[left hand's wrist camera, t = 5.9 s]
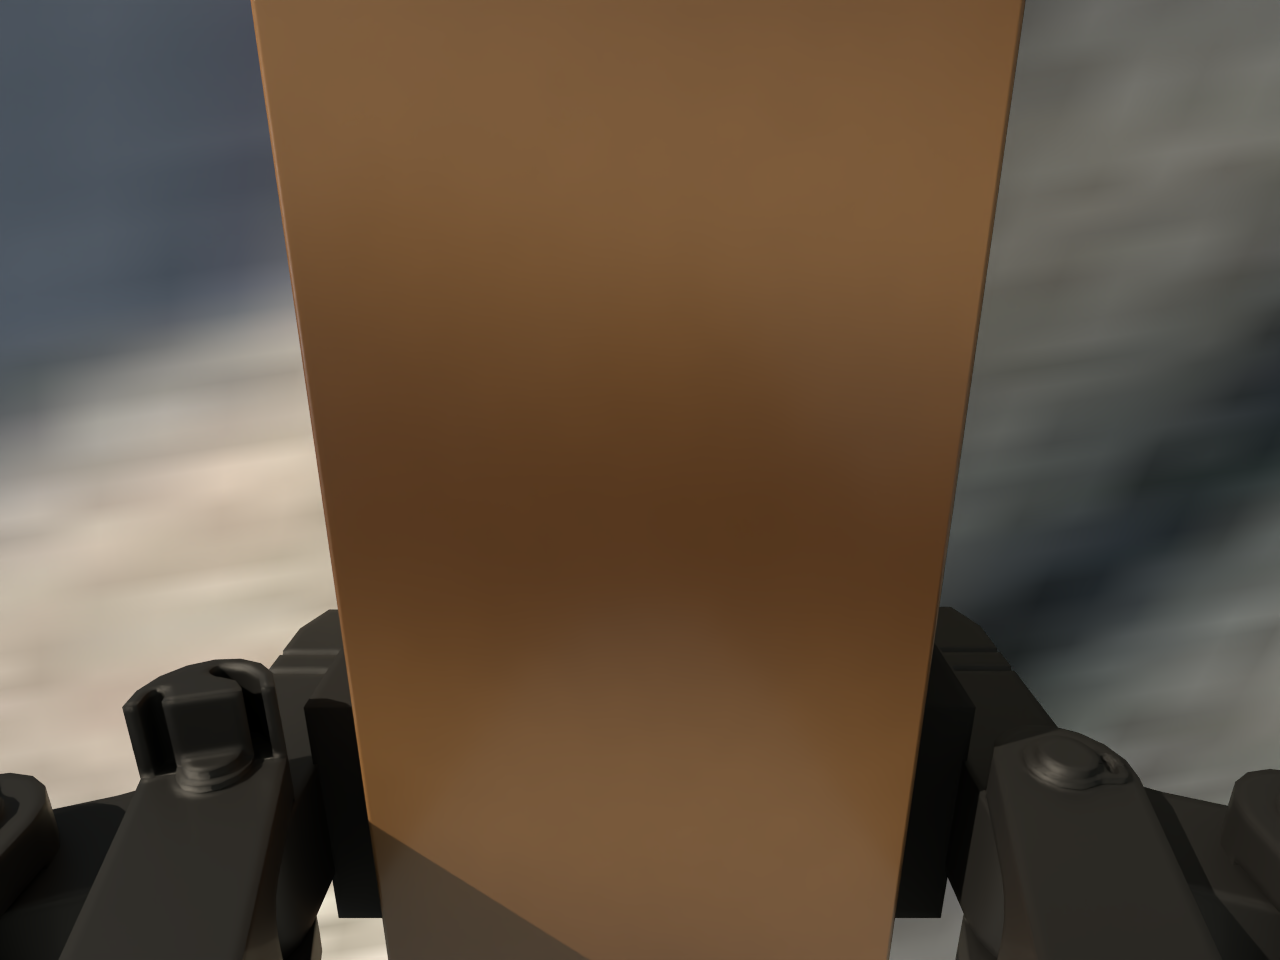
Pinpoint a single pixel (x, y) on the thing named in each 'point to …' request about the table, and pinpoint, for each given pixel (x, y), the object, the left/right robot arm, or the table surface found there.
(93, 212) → the table surface
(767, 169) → the post
